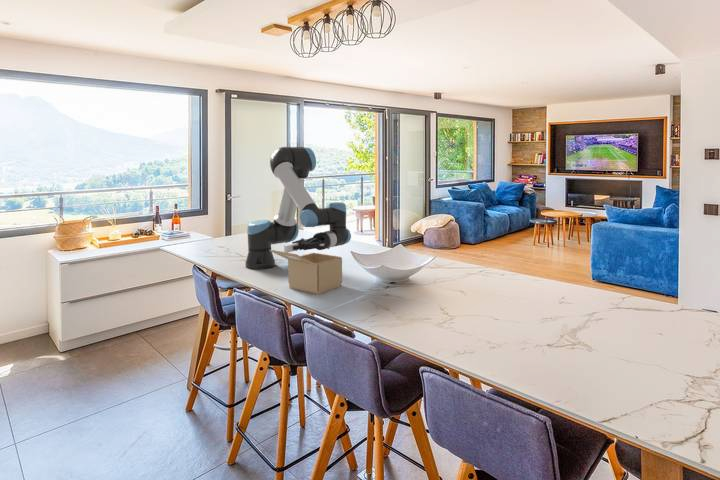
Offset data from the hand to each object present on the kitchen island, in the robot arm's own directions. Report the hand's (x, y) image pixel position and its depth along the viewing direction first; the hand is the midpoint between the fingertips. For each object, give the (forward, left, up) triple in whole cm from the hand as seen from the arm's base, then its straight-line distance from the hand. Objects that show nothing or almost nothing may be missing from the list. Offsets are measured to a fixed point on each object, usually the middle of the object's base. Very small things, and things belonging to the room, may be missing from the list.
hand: (285, 249), depth 188 cm
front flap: (-1, +10, -7) cm, 12 cm away
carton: (-1, +18, -20) cm, 27 cm away
